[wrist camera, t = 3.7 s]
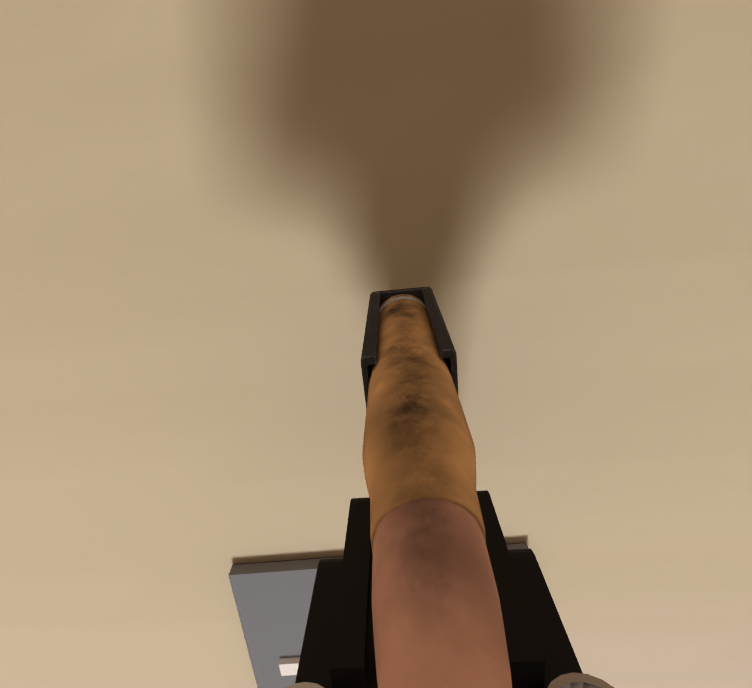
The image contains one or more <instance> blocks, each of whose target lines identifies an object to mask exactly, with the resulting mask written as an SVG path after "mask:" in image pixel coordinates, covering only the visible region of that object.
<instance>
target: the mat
mask: <svg viewBox="0 0 752 688" xmlns="http://www.w3.org/2000/svg"><path fill="white" fill-rule="evenodd" d="M506 545H507V548H508V550H513V549H528V546H527V544H526V543H519V544H506ZM339 558H343V557H332V558H319V559H306V560H292V561H279V562H266V563H252V564H239V565H232V568H231V570H230V573H229V579H230V583H231V587H232V590H233V594H234V598H235V602H236V606H237V610H238V613H239V617H240V621H241V625H242V629H243V633H244V636H245V640H246V644H247V648H248V652H249V656H250V660H251V663H252V667H253V671H254V675H255V679H256V683H257V686H258V688H286V687H288V686H290V685H292V684H295V681H296V676H297V670H298V665H299V660H300V655H301V650H302V645H303V639H304V634H305V629H306V624H307V619H308V614H309V608H310V603H311V598H312V593H313V588H314V583H315V577H316V572H317V567H318V564H319V561H320V559H339Z"/></svg>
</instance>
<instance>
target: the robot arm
mask: <svg viewBox="0 0 752 688" xmlns="http://www.w3.org/2000/svg"><path fill="white" fill-rule="evenodd" d="M477 496H478V500H479V505H480V509H481V513H482V518H483V522H484V527H485V537H486V547H487V551H488V555H489V558H490V562H491V566H492V570H493V574H494V578H495V582H496V586H497V590H498V594H499V600H500V605H501V611H502V617H503V624H504V630H505V637H506V644H507V651H508V657H509V664H510V671H511V680H512V688H614V687H612V686H611V685H609V684H608V683H606V682H605V681H603V680H602V679H599V678H596V677H594V676H591V675H589V674H583V673H582V671H581V668H580V666H579V663H578V661H577V658H576V656H575V653H574V651H573V648H572V646H571V643H570V641H569V638H568V636H567V634H566V631H565V629H564V626H563V624H562V621H561V619H560V616H559V614H558V611H557V609H556V606H555V604H554V601H553V599H552V597H551V594H550V592H549V589H548V587H547V584H546V582H545V579H544V577H543V574H542V572H541V569H540V567H539V564H538V562H537V560H536V557H535V555H534V553H533V551H532V550H531V549H513V550H508V548H507V545H506V542H505V539H504V536H503V533H502V530H501V527H500V524H499V521H498V518H497V515H496V512H495V509H494V506H493V503H492V500H491V497H490V494H489V492H488V491H477ZM372 564H373V553H372V546H371V538H370V498H354V499H351V502H350V509H349V517H348V525H347V533H346V541H345V548H344V556H343V558H339V559H320V561H319V564H318V567H317V572H316V577H315V583H314V588H313V593H312V598H311V603H310V608H309V614H308V619H307V624H306V629H305V634H304V639H303V645H302V650H301V655H300V660H299V665H298V670H297V676H296V681H295V684H292V685H290V686H288V687H286V688H378V684H377V673H376V660H375V647H374V633H373V617H372Z"/></svg>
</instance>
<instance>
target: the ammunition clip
mask: <svg viewBox="0 0 752 688" xmlns="http://www.w3.org/2000/svg"><path fill="white" fill-rule="evenodd" d="M361 368H362V376H363V384H364V392H365V401H366V409H367V410H366V421H365V431H364V441H363V465H364V473H365V479H366V484H367V489H368V493H369V497H370V538H371V546H372V553H373V564H372V617H373V633H374V647H375V660H376V673H377V684H378V688H512V680H511V671H510V664H509V657H508V651H507V644H506V637H505V630H504V624H503V617H502V611H501V605H500V600H499V594H498V590H497V586H496V582H495V578H494V574H493V570H492V566H491V562H490V558H489V555H488V551H487V547H486V537H485V527H484V522H483V518H482V513H481V509H480V505H479V500H478V496H477V491H476V456H475V447H474V443H473V440H472V436H471V433H470V430H469V427H468V424H467V421H466V418H465V415H464V412H463V409H462V406H461V403H460V400H459V397H458V378H457V357H456V351H455V349H454V346H453V343H452V341H451V338H450V336H449V333H448V330H447V328H446V325H445V323H444V320H443V317H442V315H441V312H440V310H439V307H438V304H437V302H436V299H435V297H434V294H433V291H432V289H431V288H430V287H420V288H409V289H399V290H388V291H378V292H372V293H371V295H370V300H369V307H368V314H367V321H366V328H365V335H364V342H363V349H362V356H361Z"/></svg>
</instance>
